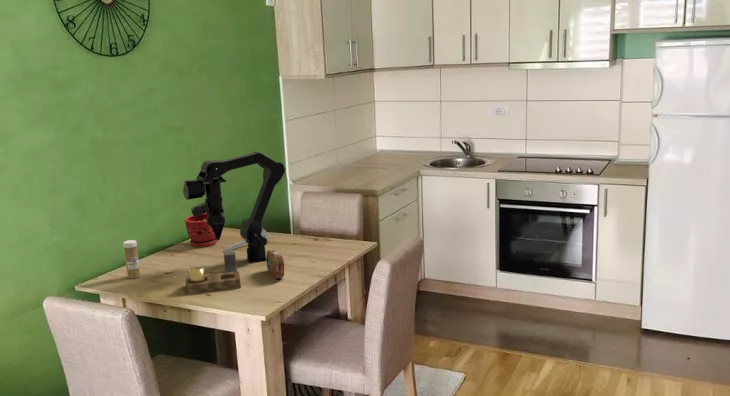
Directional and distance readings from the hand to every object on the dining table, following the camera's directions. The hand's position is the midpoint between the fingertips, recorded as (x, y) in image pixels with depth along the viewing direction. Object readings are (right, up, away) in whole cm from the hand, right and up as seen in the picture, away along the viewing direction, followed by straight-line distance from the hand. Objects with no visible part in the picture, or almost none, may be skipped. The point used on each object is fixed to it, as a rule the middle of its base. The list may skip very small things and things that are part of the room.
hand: (217, 236), depth 251 cm
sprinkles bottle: (-30, -15, -3) cm, 33 cm away
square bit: (+5, -13, -2) cm, 14 cm away
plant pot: (-13, -5, +35) cm, 38 cm away
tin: (+23, -13, -8) cm, 28 cm away
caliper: (+5, -6, +29) cm, 30 cm away
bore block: (+2, -16, -18) cm, 24 cm away
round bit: (-3, -17, -19) cm, 25 cm away
